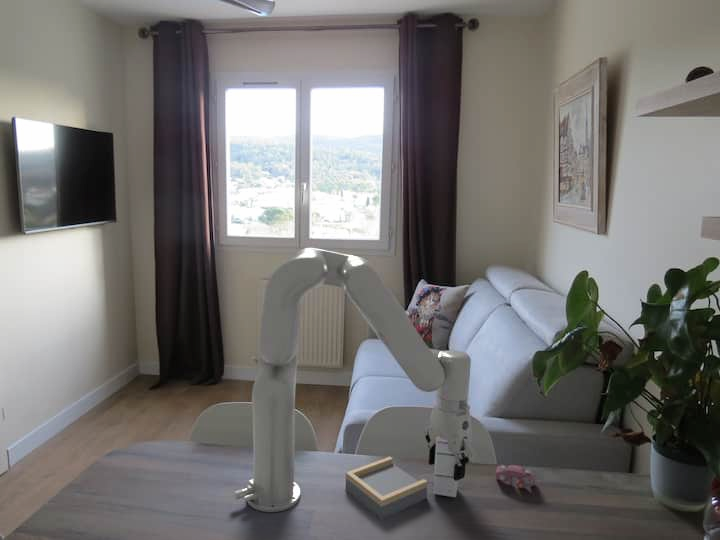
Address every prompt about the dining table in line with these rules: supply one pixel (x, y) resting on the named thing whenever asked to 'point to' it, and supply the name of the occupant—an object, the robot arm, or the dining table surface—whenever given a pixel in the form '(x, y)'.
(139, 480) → the dining table surface
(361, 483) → the tray
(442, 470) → the syrup box
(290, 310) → the robot arm
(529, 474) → the pink toy figure
